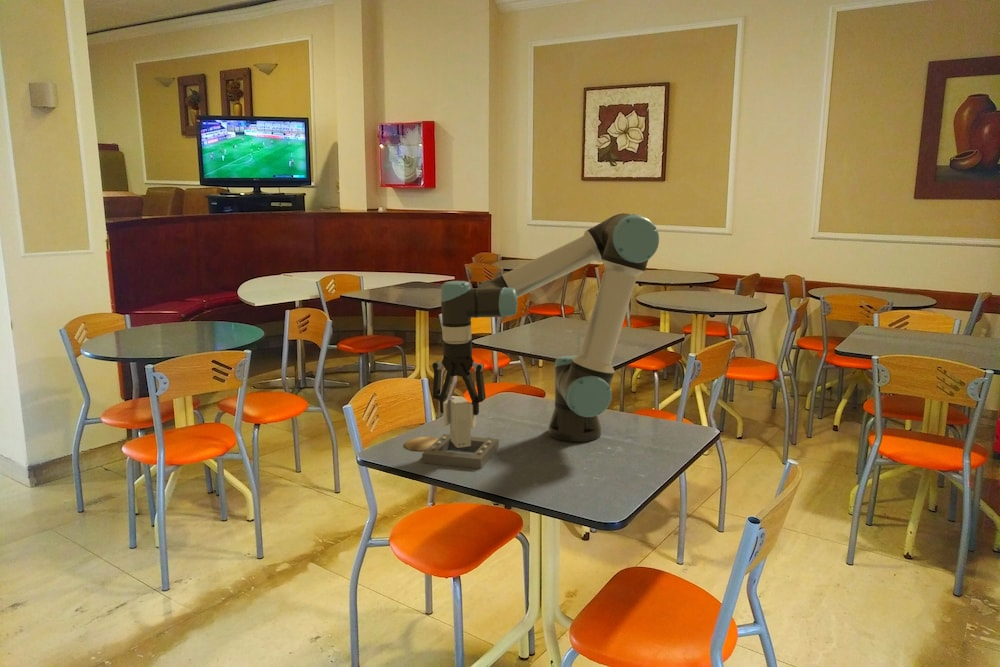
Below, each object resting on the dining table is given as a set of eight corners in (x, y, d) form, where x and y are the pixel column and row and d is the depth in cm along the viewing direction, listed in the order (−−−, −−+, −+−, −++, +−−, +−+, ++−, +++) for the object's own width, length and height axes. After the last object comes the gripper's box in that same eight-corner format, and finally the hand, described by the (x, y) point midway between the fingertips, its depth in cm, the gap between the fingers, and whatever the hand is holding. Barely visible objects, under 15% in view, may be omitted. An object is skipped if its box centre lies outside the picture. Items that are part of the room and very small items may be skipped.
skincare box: (471, 446, 196) (471, 402, 194) (455, 448, 195) (455, 404, 193) (464, 439, 202) (464, 396, 200) (448, 440, 201) (448, 397, 198)
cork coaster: (446, 440, 211) (446, 438, 210) (433, 452, 201) (433, 450, 201) (413, 437, 213) (413, 435, 213) (399, 449, 204) (399, 446, 204)
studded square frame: (498, 447, 204) (498, 437, 204) (481, 468, 189) (480, 457, 189) (444, 442, 209) (443, 432, 208) (422, 462, 194) (422, 451, 193)
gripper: (497, 339, 194) (499, 423, 198) (427, 336, 199) (430, 418, 204) (488, 345, 187) (491, 432, 191) (416, 342, 192) (420, 427, 197)
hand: (460, 425), depth 198 cm, fingers closed on skincare box, 7 cm apart
